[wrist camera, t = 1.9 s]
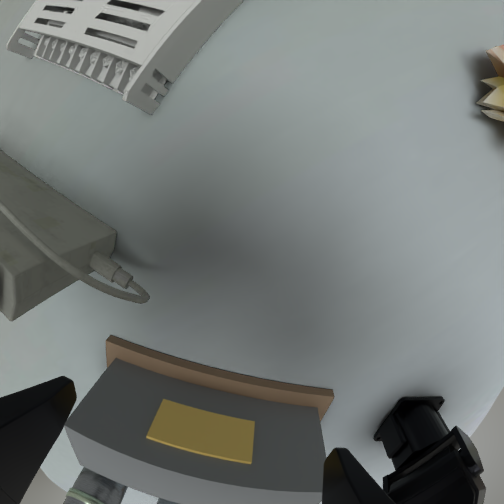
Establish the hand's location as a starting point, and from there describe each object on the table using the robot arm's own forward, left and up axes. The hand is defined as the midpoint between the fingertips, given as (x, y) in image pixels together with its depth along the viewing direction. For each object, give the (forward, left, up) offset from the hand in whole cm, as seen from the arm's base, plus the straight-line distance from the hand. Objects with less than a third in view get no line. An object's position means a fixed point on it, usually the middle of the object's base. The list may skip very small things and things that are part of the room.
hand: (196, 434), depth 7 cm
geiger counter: (+17, -3, -13) cm, 22 cm away
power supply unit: (+12, -29, -14) cm, 35 cm away
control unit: (0, +12, -13) cm, 18 cm away
